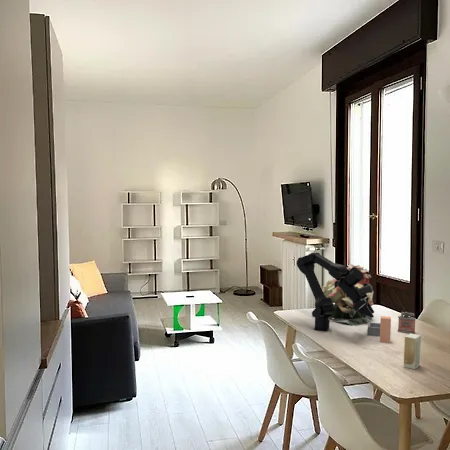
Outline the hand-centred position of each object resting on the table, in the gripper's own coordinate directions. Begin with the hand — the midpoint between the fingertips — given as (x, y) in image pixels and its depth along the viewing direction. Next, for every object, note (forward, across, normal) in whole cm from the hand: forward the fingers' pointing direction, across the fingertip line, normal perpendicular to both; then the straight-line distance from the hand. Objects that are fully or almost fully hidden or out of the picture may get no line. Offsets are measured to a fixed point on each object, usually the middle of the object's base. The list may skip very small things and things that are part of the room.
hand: (373, 314), depth 228 cm
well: (+10, +12, +7) cm, 17 cm away
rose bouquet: (-1, +36, +17) cm, 40 cm away
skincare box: (+20, -33, -3) cm, 38 cm away
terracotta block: (+12, 0, +4) cm, 13 cm away
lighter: (+19, +20, -2) cm, 28 cm away
